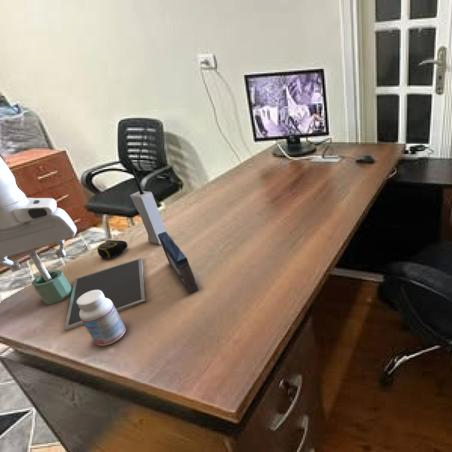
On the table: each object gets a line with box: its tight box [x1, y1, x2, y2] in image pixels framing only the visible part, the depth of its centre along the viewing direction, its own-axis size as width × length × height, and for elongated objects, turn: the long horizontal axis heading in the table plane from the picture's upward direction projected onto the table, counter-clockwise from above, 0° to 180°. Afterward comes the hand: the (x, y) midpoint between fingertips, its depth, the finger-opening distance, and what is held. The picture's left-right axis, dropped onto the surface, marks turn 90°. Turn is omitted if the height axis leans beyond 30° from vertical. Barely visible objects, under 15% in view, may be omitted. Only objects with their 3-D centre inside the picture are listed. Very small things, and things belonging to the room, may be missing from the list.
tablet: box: [63, 257, 147, 332], centre depth 91 cm, size 17×22×1 cm
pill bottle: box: [77, 290, 127, 347], centre depth 74 cm, size 6×6×11 cm
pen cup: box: [31, 269, 73, 305], centre depth 90 cm, size 6×6×6 cm
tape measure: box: [97, 239, 129, 259], centre depth 107 cm, size 7×7×4 cm
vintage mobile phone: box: [130, 167, 167, 246], centre depth 106 cm, size 4×5×25 cm
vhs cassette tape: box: [158, 231, 199, 294], centre depth 92 cm, size 18×3×10 cm, turn 36°
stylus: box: [28, 251, 52, 282], centre depth 88 cm, size 1×1×13 cm
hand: (40, 262), depth 87 cm, fingers open, 8 cm apart
